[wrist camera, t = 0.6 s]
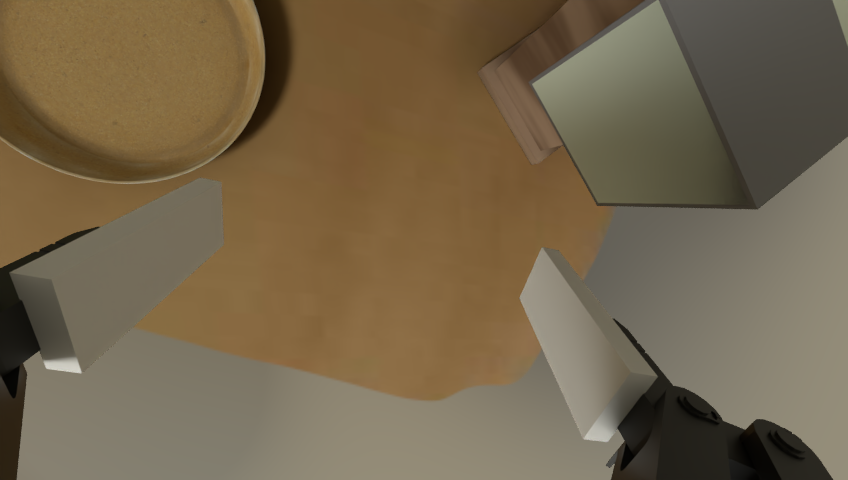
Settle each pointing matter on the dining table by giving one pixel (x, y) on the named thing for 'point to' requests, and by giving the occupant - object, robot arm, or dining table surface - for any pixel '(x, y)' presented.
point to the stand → (511, 71)
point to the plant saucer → (128, 83)
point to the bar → (702, 100)
